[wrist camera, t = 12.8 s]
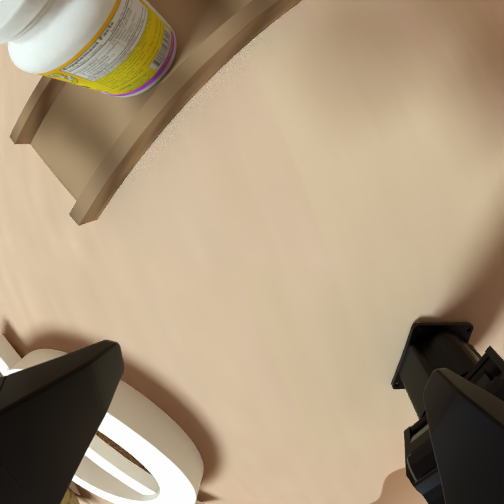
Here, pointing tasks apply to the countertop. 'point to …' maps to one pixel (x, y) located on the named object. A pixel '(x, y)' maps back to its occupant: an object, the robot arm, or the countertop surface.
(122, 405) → the ring with crossbar
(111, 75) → the supplement bottle
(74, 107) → the oak track
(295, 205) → the countertop surface
